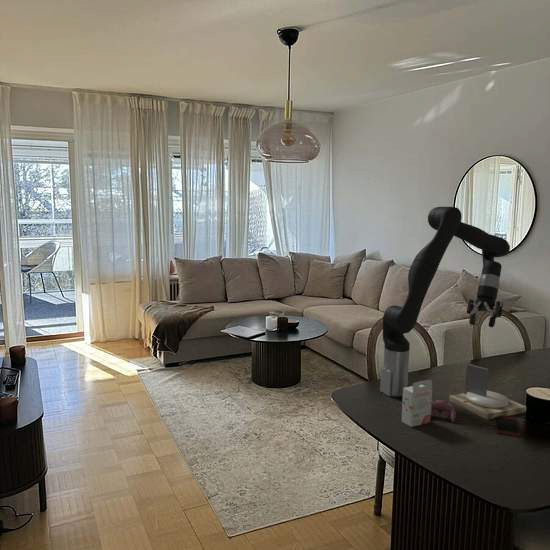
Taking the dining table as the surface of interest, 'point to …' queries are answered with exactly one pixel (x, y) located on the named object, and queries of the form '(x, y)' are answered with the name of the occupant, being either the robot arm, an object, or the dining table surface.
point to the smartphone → (507, 426)
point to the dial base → (487, 411)
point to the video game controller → (445, 406)
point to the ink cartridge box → (417, 403)
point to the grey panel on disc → (482, 389)
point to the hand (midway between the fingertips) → (481, 325)
